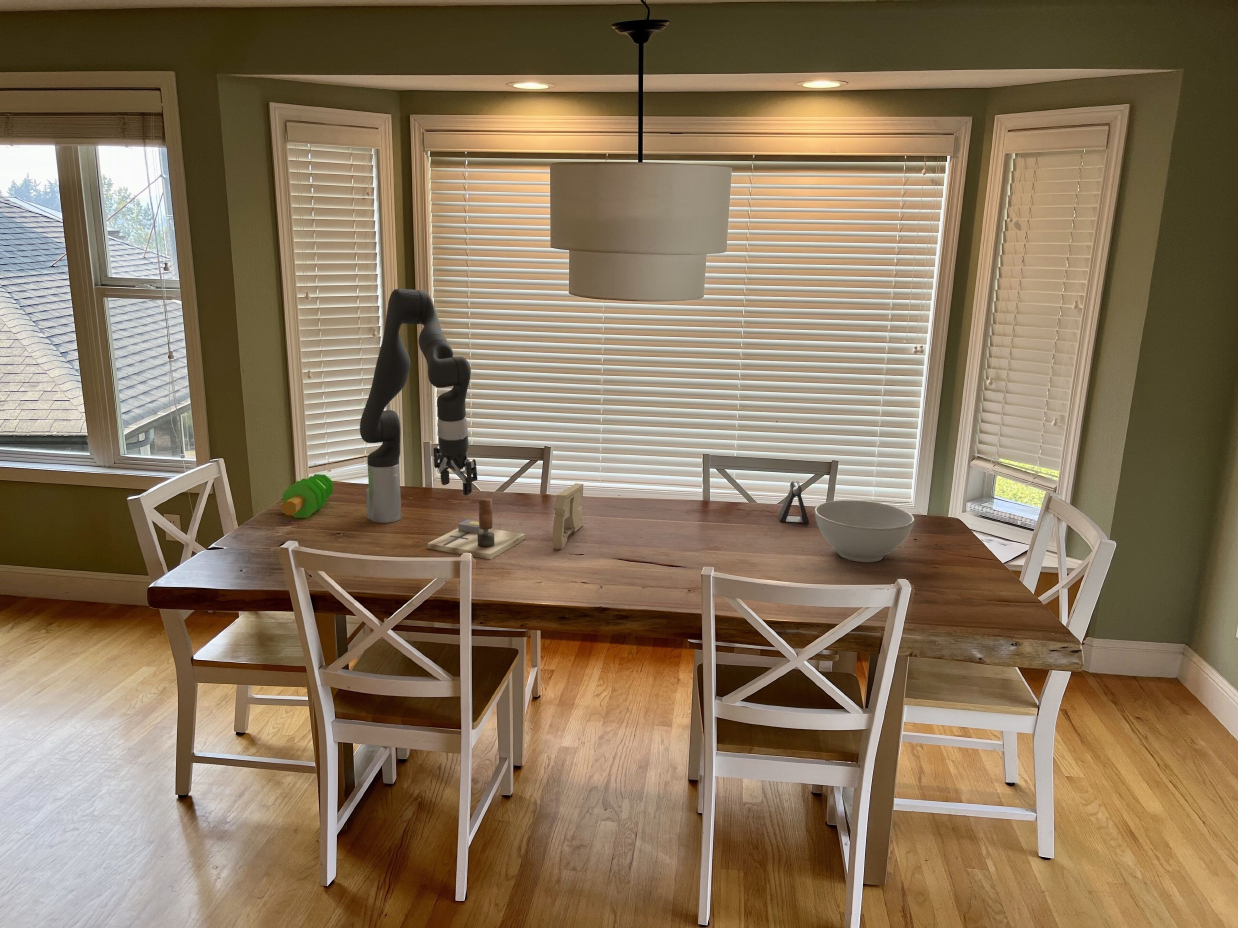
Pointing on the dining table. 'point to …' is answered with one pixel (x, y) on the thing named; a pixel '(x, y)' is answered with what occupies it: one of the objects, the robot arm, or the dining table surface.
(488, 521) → the wooden handled stamp
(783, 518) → the phone stand
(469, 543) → the subfloor panel
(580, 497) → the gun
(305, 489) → the decorative tree
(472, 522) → the block
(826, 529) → the decorative bowl
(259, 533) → the dining table surface
